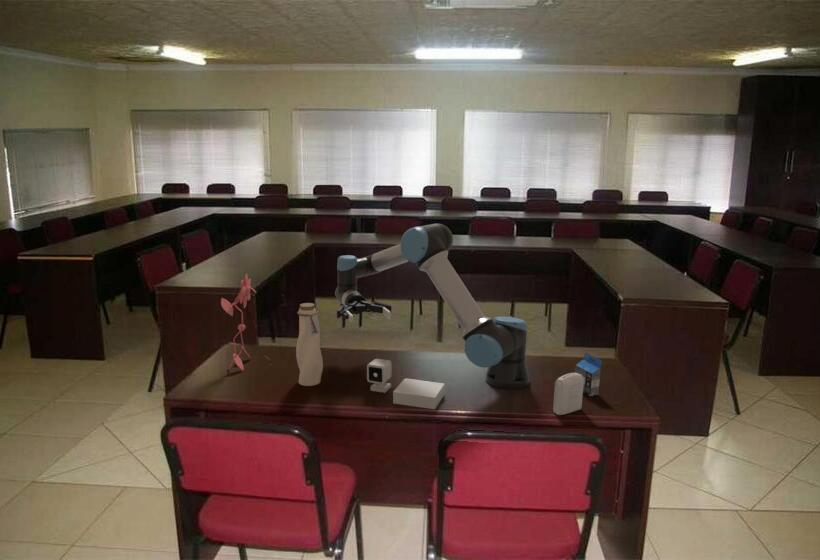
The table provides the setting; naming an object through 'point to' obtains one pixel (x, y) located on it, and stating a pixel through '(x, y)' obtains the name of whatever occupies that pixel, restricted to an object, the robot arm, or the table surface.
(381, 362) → the security camera
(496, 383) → the robot arm
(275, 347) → the table surface
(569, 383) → the photo printer
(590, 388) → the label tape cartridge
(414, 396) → the plinth
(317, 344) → the water bottle
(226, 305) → the figurine
